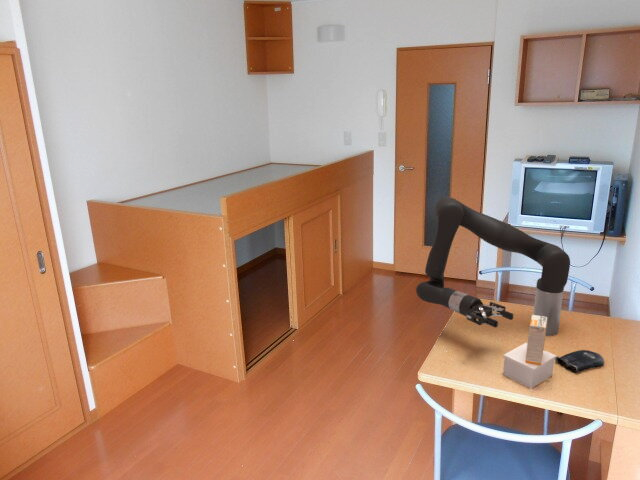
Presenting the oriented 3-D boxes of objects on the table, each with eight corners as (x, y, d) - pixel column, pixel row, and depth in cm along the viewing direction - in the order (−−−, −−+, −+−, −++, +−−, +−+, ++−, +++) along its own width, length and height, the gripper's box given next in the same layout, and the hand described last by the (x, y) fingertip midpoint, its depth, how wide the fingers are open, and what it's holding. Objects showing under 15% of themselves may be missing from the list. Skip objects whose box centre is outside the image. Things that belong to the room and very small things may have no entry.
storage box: (523, 361, 168) (526, 342, 166) (553, 375, 160) (556, 355, 158) (501, 374, 161) (503, 354, 159) (531, 389, 153) (534, 369, 151)
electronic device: (578, 381, 159) (611, 364, 164) (576, 365, 158) (609, 349, 163) (554, 370, 168) (586, 354, 173) (553, 355, 167) (585, 340, 172)
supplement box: (541, 366, 152) (546, 327, 148) (524, 362, 154) (529, 324, 150) (543, 353, 159) (547, 316, 155) (527, 350, 161) (531, 313, 157)
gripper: (452, 300, 171) (493, 316, 158) (478, 289, 179) (518, 304, 166) (451, 319, 173) (491, 337, 160) (476, 308, 181) (516, 324, 168)
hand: (505, 320), depth 163 cm, fingers open, 8 cm apart
